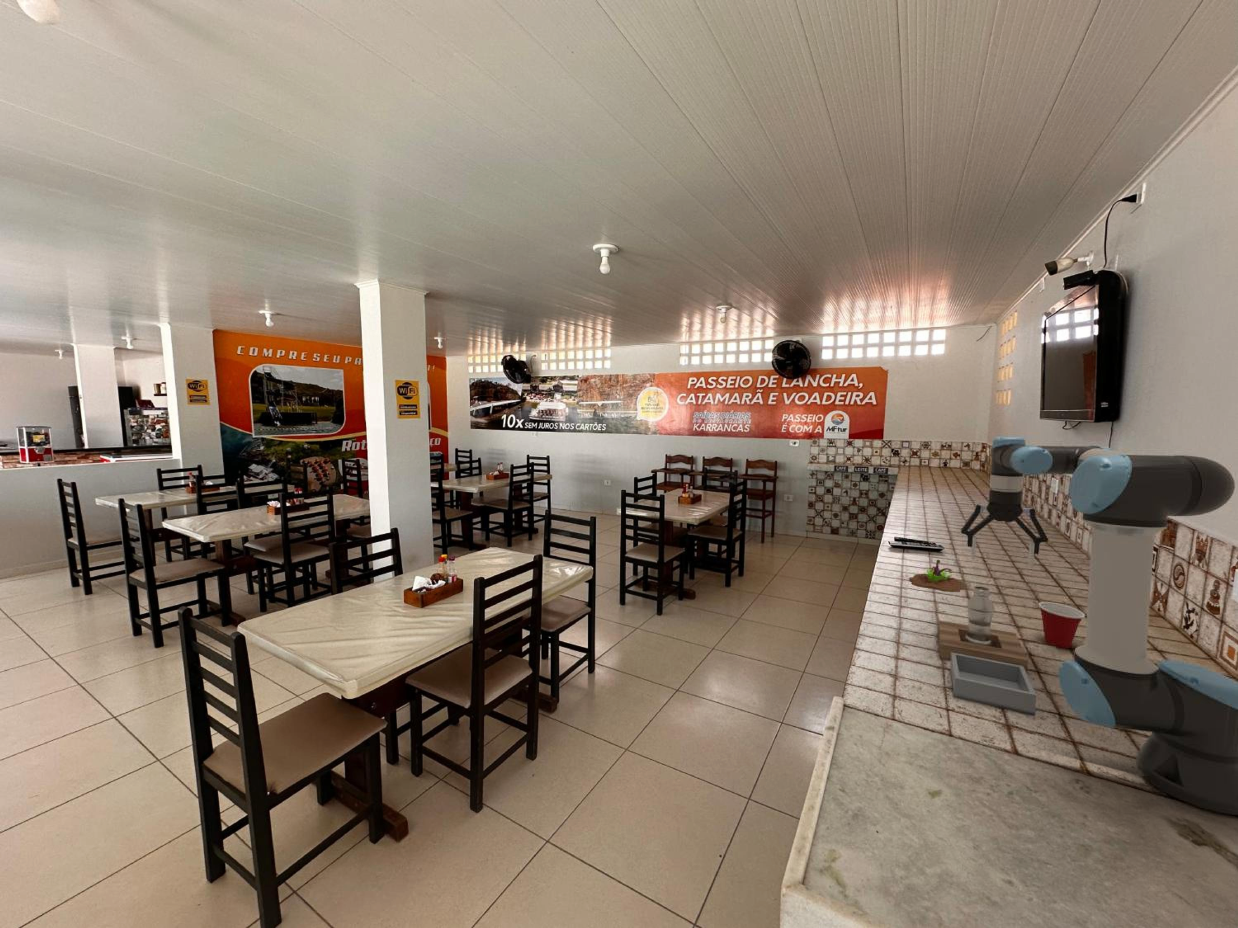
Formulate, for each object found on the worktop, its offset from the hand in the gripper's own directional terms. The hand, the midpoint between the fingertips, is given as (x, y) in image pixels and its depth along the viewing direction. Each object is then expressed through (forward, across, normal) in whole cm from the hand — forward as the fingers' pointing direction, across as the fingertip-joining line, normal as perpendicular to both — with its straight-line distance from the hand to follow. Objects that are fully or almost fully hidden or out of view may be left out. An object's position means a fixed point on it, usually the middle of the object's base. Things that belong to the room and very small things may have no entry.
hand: (1000, 561), depth 147 cm
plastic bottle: (+29, +4, +2) cm, 29 cm away
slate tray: (+28, +3, +26) cm, 39 cm away
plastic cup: (+29, -17, -17) cm, 38 cm away
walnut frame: (+29, +4, +2) cm, 29 cm away
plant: (+29, +15, -62) cm, 71 cm away
